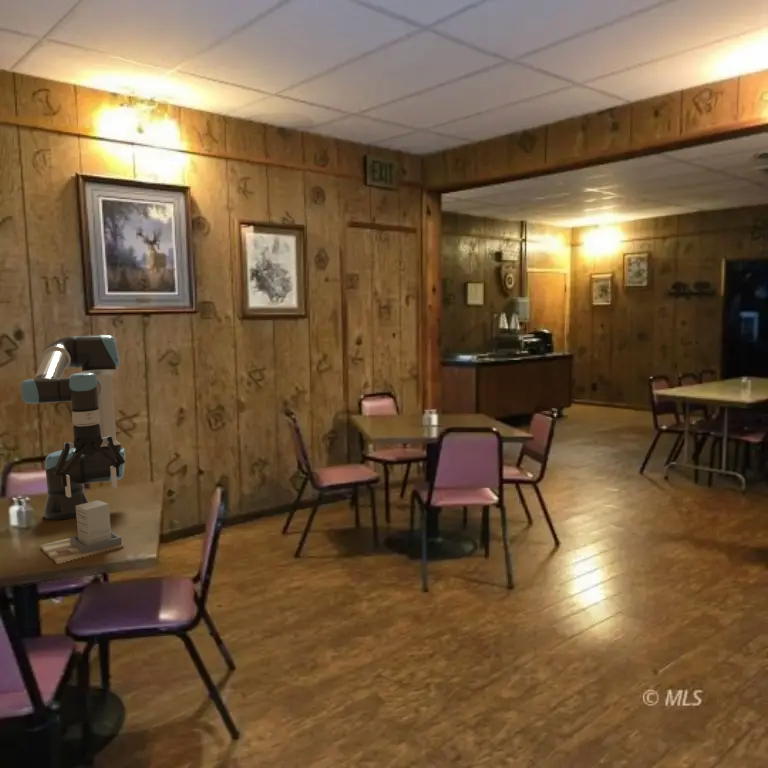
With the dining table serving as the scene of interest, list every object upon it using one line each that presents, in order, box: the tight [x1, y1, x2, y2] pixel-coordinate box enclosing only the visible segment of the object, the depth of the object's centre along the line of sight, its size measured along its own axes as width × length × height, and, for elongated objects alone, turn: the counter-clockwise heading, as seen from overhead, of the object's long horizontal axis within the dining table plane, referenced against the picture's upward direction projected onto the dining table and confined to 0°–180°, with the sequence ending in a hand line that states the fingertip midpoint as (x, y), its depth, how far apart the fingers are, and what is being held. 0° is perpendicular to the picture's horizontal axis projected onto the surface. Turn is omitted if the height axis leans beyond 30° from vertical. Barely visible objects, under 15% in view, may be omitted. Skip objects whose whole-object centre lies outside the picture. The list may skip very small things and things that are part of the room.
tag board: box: [39, 537, 124, 565], centre depth 201 cm, size 18×19×1 cm
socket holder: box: [70, 530, 123, 554], centre depth 201 cm, size 12×12×2 cm
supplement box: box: [76, 499, 112, 546], centre depth 201 cm, size 7×7×13 cm
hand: (92, 491), depth 200 cm, fingers open, 13 cm apart
